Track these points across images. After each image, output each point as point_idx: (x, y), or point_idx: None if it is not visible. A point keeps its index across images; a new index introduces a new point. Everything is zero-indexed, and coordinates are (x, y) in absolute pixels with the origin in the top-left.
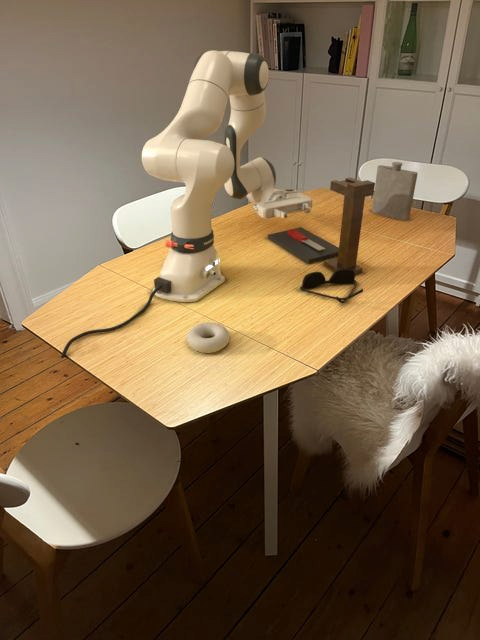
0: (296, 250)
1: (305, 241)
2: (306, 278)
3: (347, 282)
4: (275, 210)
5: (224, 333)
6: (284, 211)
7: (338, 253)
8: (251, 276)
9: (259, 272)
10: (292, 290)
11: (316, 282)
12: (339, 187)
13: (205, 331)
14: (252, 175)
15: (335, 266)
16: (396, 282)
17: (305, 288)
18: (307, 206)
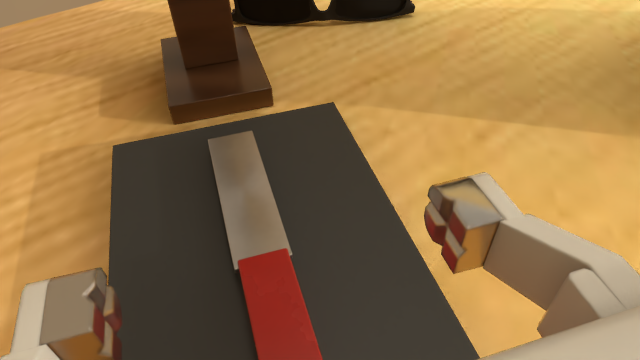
0: (364, 182)
1: (276, 232)
2: None
3: (258, 16)
4: (615, 254)
5: None
6: (467, 216)
7: (230, 8)
8: (589, 82)
9: (560, 98)
10: (436, 18)
11: (361, 2)
12: None
13: None
14: None
15: (249, 54)
16: (114, 16)
17: (397, 11)
18: (23, 341)
